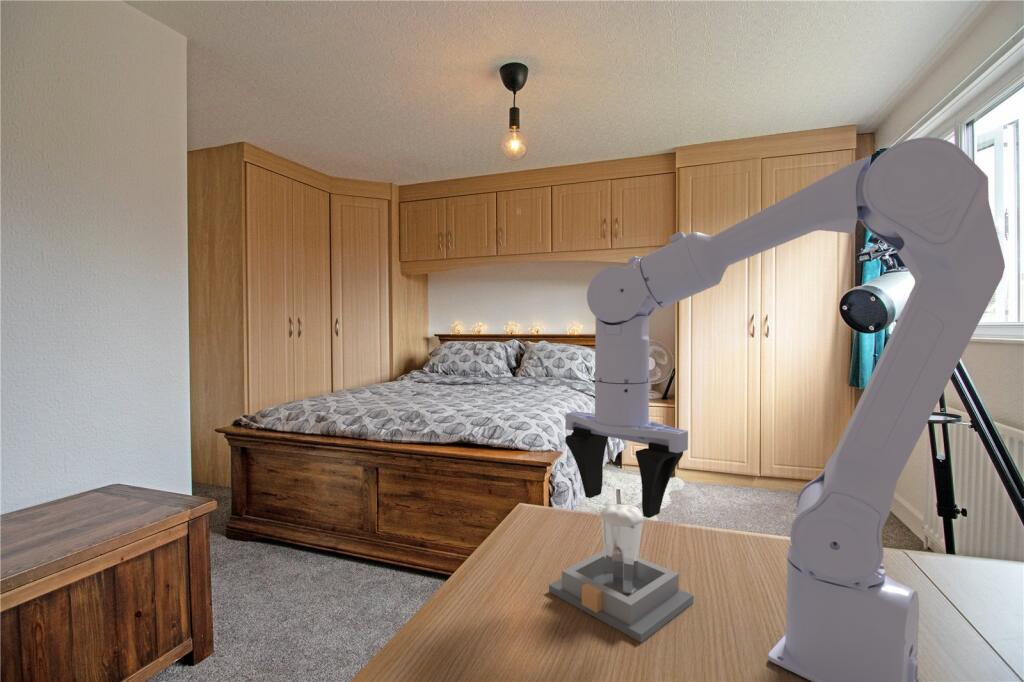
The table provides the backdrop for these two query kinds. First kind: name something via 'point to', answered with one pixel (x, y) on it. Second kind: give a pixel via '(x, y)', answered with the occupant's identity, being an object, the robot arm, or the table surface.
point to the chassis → (624, 596)
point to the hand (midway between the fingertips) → (620, 504)
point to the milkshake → (621, 545)
